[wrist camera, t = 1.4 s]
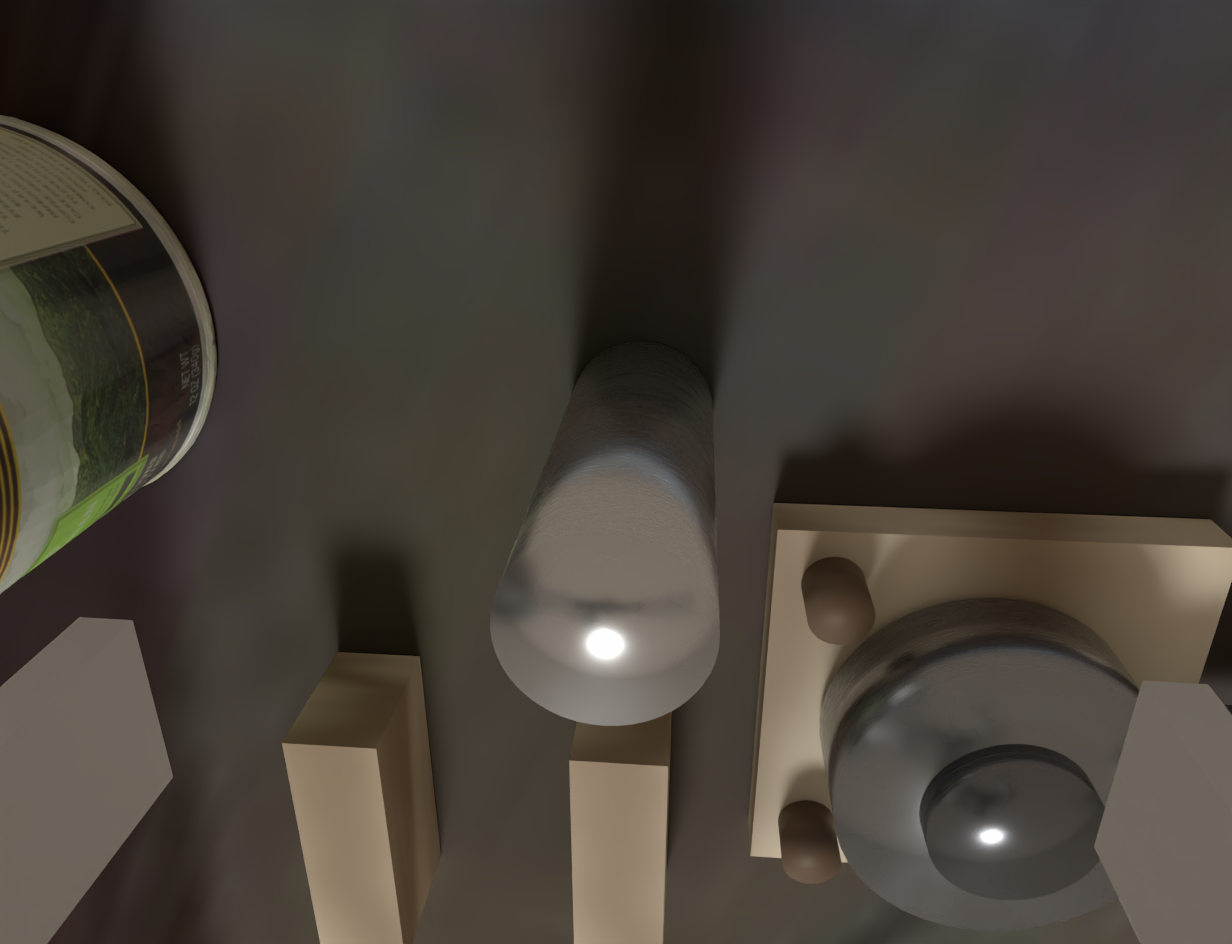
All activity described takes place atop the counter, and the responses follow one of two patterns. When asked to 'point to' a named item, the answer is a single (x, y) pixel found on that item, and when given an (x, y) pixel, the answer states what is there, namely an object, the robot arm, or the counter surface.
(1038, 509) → the counter surface
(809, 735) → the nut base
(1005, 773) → the grey metal pan
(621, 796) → the slot rails
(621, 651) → the pin
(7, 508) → the coffee can
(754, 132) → the counter surface
